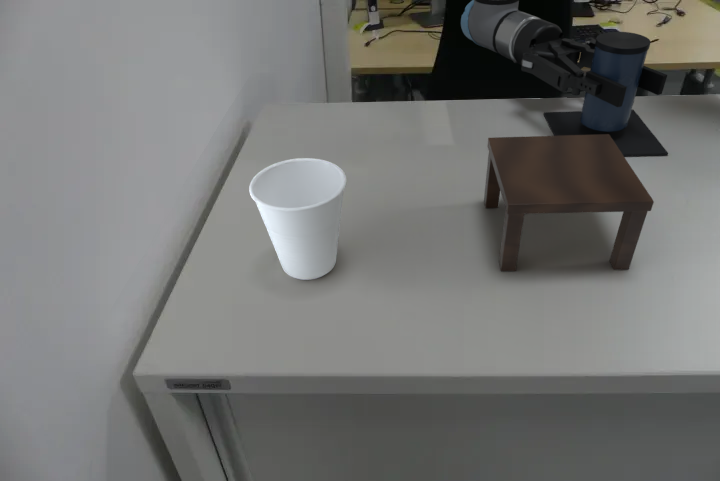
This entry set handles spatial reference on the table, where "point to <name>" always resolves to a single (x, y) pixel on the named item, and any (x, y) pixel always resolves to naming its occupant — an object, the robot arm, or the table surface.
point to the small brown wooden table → (564, 187)
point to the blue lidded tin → (615, 78)
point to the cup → (301, 213)
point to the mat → (610, 133)
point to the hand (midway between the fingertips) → (642, 90)
